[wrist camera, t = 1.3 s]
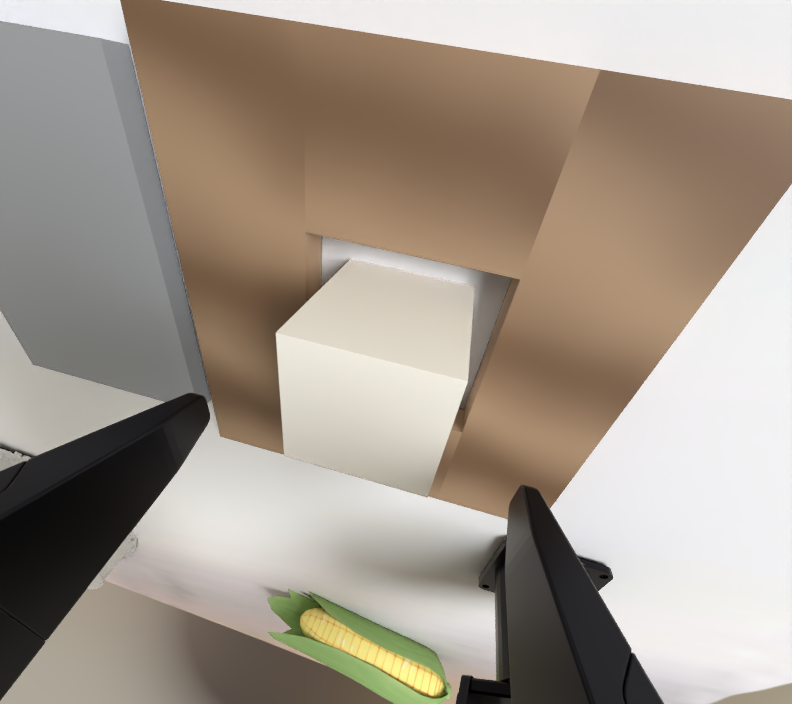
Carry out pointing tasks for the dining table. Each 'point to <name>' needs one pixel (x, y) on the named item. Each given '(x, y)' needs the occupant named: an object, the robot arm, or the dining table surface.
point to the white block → (375, 374)
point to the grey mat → (88, 220)
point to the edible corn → (362, 650)
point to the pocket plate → (450, 213)
